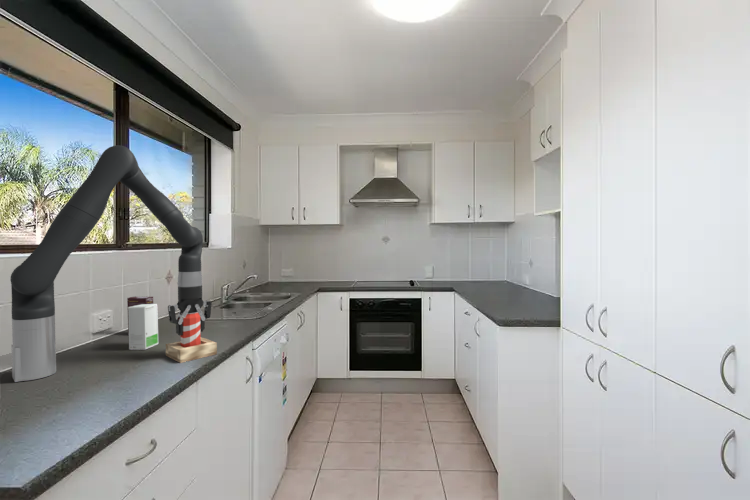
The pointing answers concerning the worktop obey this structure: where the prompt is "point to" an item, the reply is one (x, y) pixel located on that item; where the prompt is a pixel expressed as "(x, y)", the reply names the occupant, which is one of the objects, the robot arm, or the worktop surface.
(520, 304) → the worktop surface
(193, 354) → the holder block
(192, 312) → the robot arm
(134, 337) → the skincare box
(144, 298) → the supplement box
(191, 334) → the beverage can
